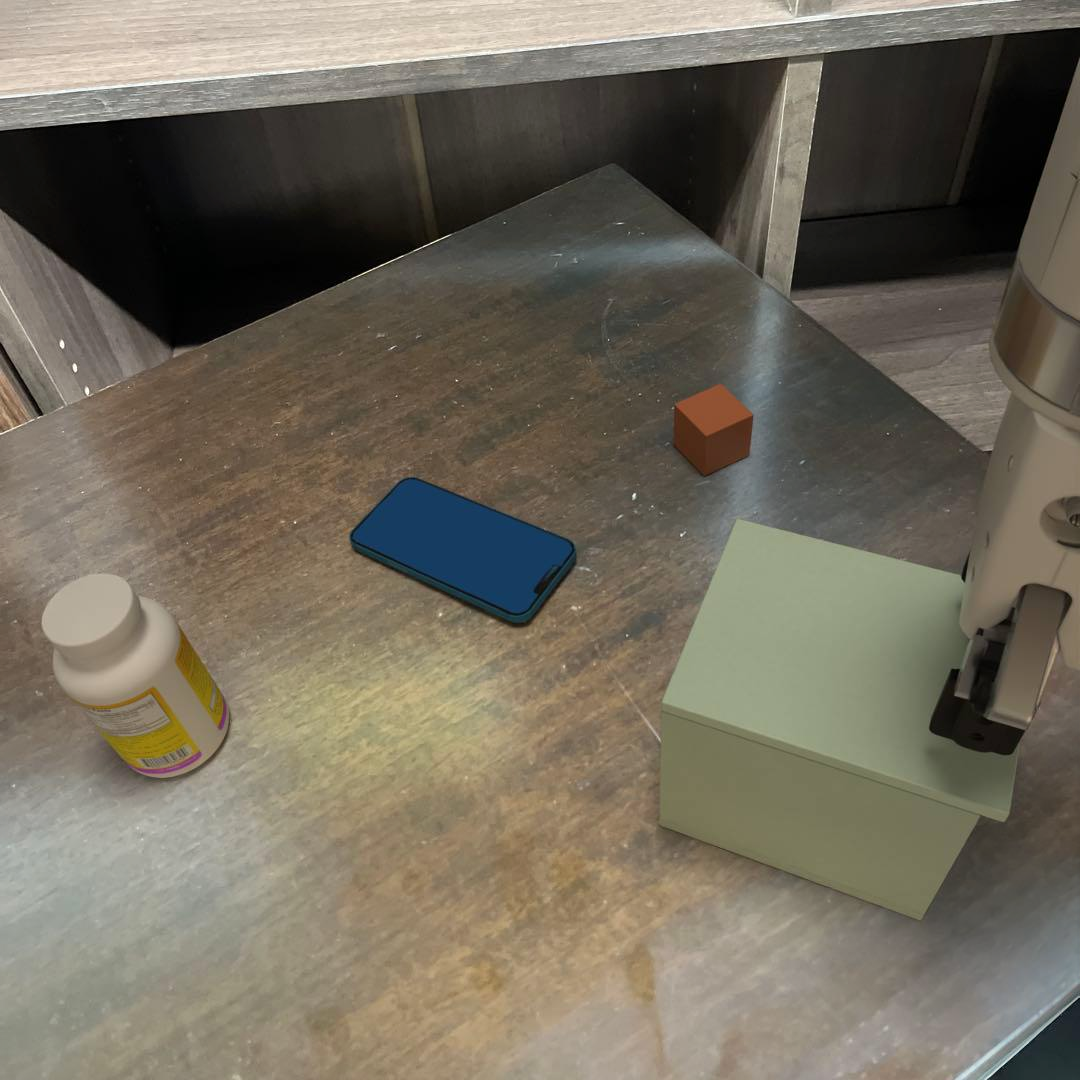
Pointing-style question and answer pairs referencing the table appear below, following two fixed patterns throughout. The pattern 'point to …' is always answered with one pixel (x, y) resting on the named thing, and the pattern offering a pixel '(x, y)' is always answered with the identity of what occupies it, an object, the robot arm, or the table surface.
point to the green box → (808, 816)
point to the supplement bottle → (134, 675)
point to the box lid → (837, 664)
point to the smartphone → (465, 548)
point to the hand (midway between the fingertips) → (984, 657)
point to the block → (712, 429)
